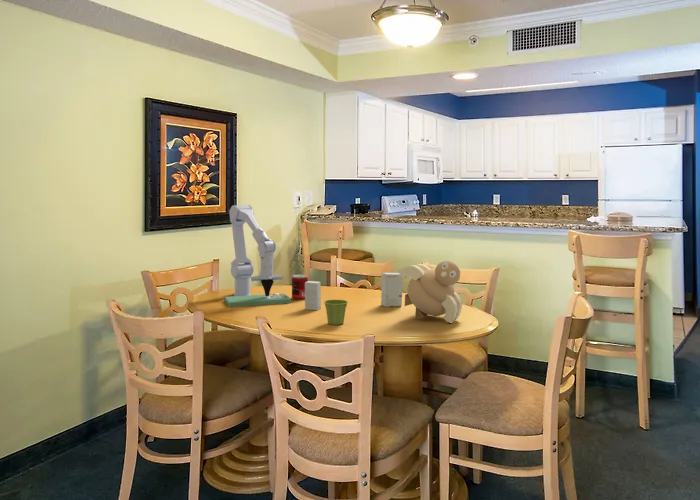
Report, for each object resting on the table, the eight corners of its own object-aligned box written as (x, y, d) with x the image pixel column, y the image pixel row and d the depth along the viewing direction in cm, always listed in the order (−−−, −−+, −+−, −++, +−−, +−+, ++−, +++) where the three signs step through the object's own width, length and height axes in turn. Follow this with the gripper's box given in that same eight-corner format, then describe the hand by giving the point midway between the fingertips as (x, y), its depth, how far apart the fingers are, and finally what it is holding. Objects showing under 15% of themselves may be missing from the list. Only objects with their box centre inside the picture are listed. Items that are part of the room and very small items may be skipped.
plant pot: (323, 320, 221) (323, 299, 220) (346, 320, 221) (347, 299, 220) (324, 326, 211) (324, 304, 210) (348, 326, 212) (348, 303, 211)
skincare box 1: (321, 308, 243) (321, 281, 242) (317, 310, 239) (317, 283, 238) (308, 307, 245) (308, 280, 244) (304, 309, 241) (304, 282, 240)
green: (224, 301, 257) (224, 296, 257) (283, 297, 267) (283, 293, 267) (229, 307, 244) (229, 302, 244) (290, 303, 254) (290, 298, 254)
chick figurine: (420, 239, 214) (444, 235, 233) (377, 288, 226) (403, 280, 245) (475, 296, 204) (494, 287, 223) (426, 344, 216) (449, 332, 235)
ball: (278, 291, 260) (281, 298, 260) (271, 295, 260) (275, 301, 260) (277, 291, 257) (280, 297, 256) (270, 294, 257) (273, 301, 256)
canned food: (309, 296, 269) (309, 274, 268) (306, 300, 261) (306, 277, 260) (293, 296, 270) (293, 274, 269) (290, 299, 262) (290, 276, 261)
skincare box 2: (385, 307, 247) (385, 274, 245) (380, 304, 252) (381, 272, 251) (402, 306, 249) (403, 273, 248) (397, 303, 255) (398, 271, 253)
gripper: (252, 268, 249) (253, 298, 251) (284, 267, 254) (284, 296, 256) (250, 266, 256) (250, 295, 257) (280, 265, 261) (280, 293, 262)
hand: (267, 295), depth 257 cm, fingers closed
